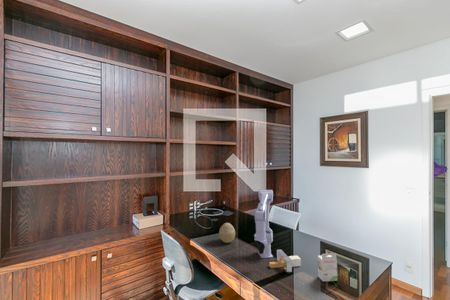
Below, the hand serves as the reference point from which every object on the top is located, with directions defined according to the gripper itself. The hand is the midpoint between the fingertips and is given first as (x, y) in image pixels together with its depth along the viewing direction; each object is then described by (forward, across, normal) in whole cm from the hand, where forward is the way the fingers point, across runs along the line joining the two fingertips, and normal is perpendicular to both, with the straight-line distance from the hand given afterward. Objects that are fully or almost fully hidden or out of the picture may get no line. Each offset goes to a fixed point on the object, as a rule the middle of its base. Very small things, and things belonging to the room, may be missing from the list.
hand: (261, 253), depth 127 cm
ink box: (+9, +21, +29) cm, 37 cm away
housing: (+9, +2, +14) cm, 17 cm away
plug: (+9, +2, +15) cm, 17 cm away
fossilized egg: (+9, -42, -8) cm, 44 cm away
